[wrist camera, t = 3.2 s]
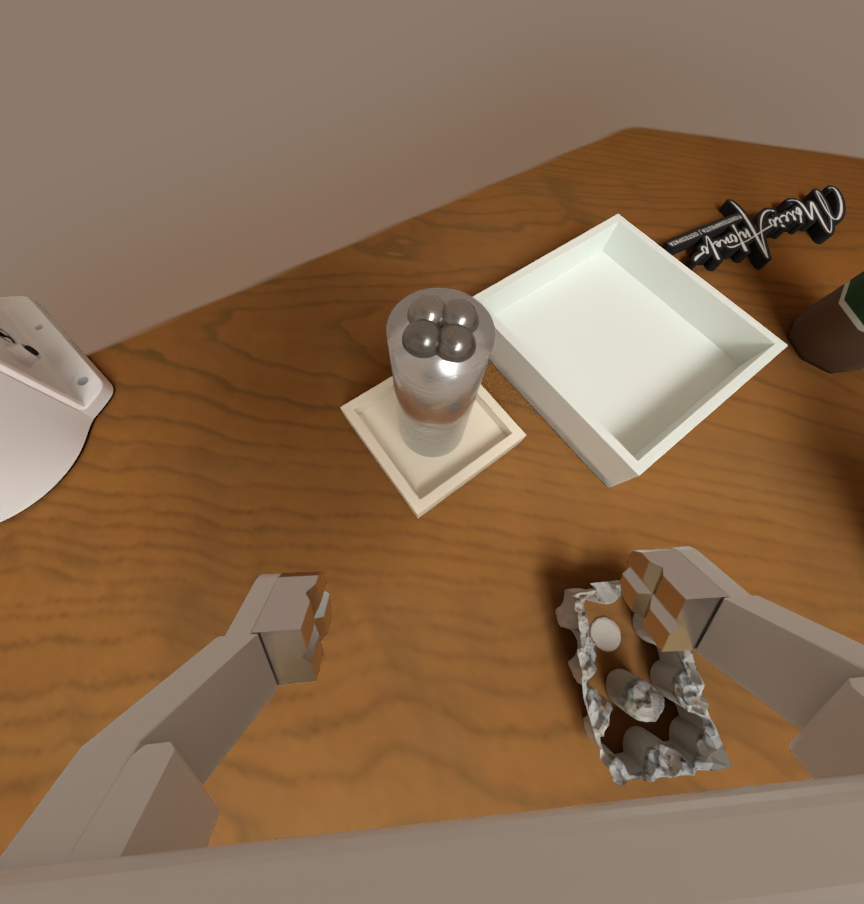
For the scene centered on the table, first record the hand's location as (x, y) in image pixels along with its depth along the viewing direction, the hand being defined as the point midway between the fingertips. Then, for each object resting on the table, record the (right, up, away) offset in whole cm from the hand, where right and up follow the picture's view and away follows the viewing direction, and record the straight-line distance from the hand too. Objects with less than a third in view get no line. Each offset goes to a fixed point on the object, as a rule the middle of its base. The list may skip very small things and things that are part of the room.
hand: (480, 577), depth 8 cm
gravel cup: (-1, +6, +19) cm, 20 cm away
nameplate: (+38, +30, +31) cm, 57 cm away
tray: (-1, +5, +19) cm, 20 cm away
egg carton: (+12, -12, +14) cm, 22 cm away
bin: (+16, +13, +23) cm, 31 cm away
